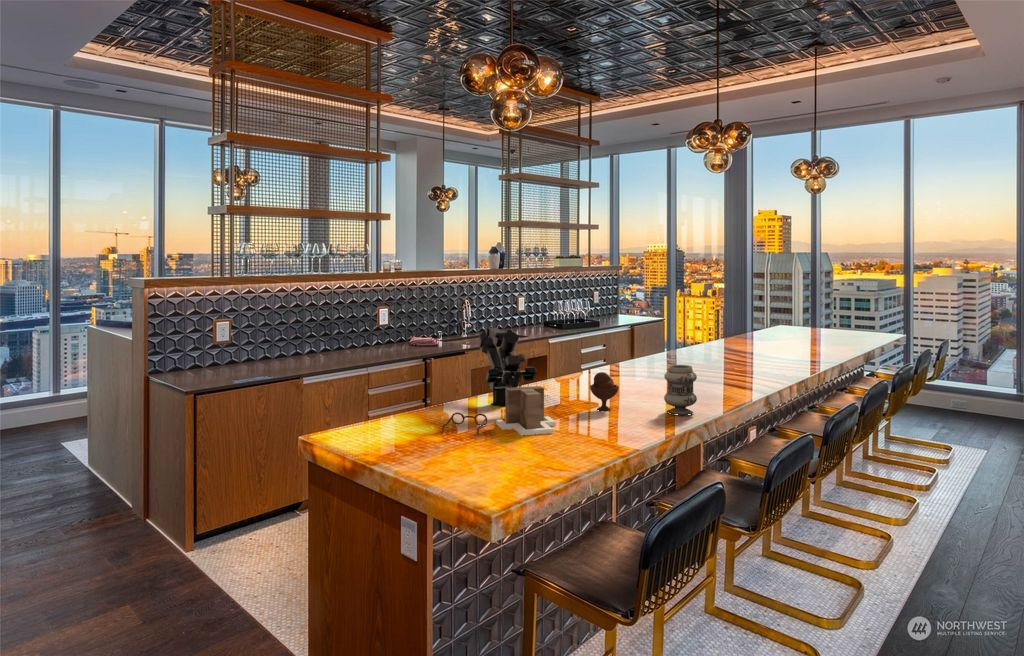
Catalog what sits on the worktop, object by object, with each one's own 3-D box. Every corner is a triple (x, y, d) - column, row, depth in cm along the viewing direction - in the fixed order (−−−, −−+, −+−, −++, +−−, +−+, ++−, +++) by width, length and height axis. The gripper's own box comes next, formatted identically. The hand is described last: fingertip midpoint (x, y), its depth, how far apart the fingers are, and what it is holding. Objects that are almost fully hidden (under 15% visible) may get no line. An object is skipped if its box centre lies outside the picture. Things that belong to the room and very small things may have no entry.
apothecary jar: (670, 408, 255) (671, 362, 253) (701, 412, 248) (702, 365, 246) (658, 414, 245) (659, 366, 243) (689, 418, 238) (690, 369, 236)
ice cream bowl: (618, 413, 245) (618, 374, 244) (588, 412, 248) (588, 373, 246) (619, 407, 256) (619, 369, 254) (590, 406, 258) (590, 369, 256)
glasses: (487, 427, 229) (487, 413, 228) (477, 437, 216) (477, 422, 216) (452, 425, 232) (452, 411, 231) (440, 435, 219) (439, 420, 219)
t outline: (496, 424, 231) (496, 419, 231) (548, 420, 237) (548, 416, 236) (509, 436, 215) (509, 432, 215) (564, 432, 220) (564, 427, 220)
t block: (505, 424, 231) (505, 388, 230) (540, 421, 235) (540, 385, 233) (515, 433, 219) (515, 395, 218) (552, 430, 222) (552, 393, 221)
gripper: (487, 347, 242) (494, 382, 233) (535, 345, 247) (544, 379, 238) (482, 365, 251) (489, 399, 242) (529, 362, 256) (537, 396, 247)
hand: (515, 393), depth 242 cm, fingers closed
